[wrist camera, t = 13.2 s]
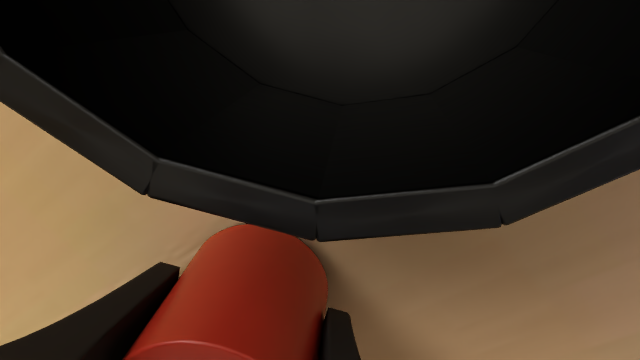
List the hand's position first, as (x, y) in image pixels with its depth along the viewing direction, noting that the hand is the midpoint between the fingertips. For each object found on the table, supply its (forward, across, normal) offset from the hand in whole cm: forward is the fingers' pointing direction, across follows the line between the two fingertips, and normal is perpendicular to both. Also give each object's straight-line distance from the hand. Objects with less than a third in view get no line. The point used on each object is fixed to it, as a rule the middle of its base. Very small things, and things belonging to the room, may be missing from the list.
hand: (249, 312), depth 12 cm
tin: (+1, 0, 0) cm, 1 cm away
